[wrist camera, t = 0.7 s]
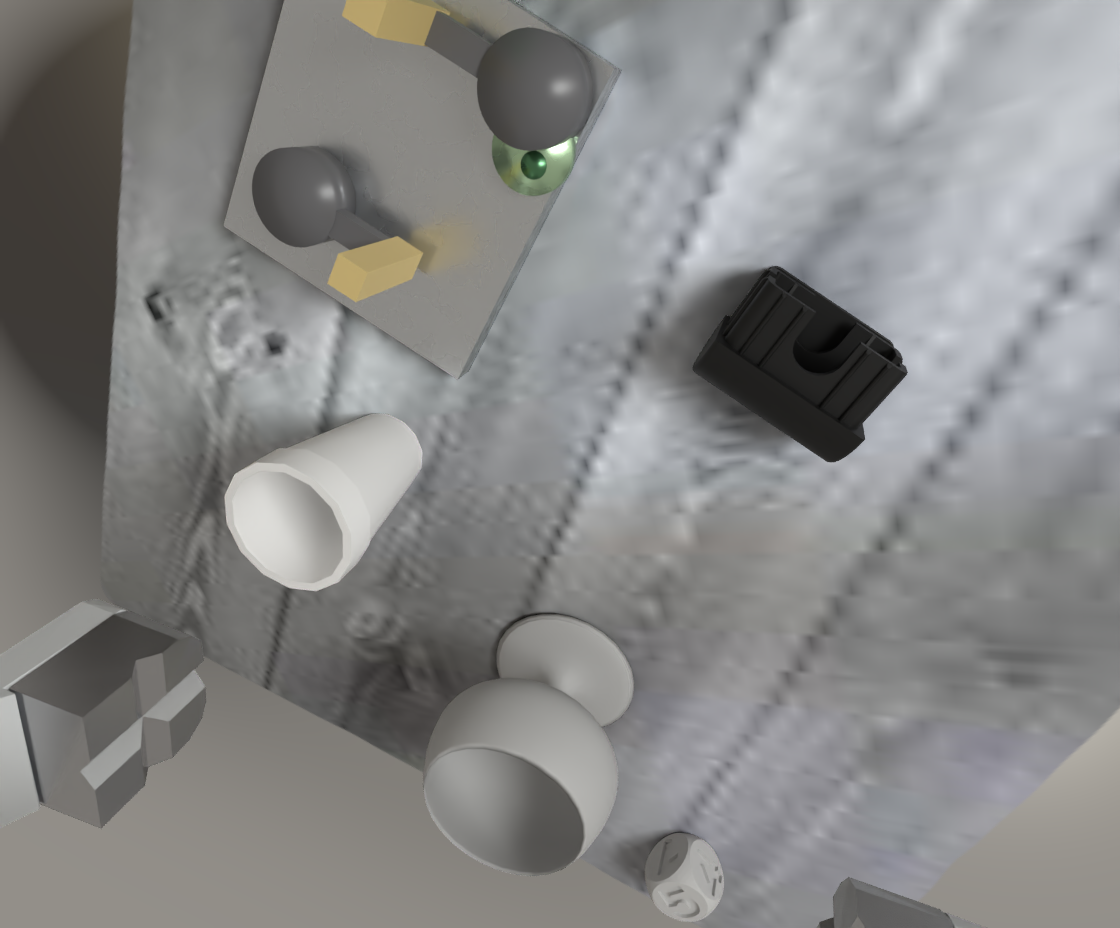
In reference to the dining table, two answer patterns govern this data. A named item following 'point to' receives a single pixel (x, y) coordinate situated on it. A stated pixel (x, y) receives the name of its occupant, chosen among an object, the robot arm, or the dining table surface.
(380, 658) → the dining table surface
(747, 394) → the end cap
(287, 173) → the rear knob
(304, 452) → the foam cup
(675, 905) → the die
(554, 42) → the front knob
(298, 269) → the leveling plate
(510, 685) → the chalice
